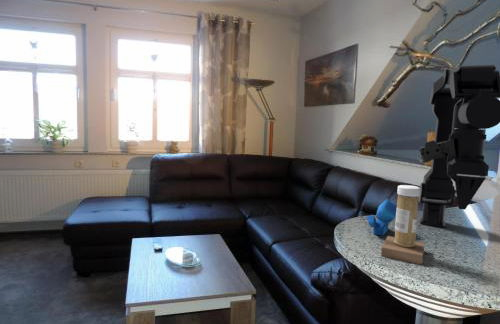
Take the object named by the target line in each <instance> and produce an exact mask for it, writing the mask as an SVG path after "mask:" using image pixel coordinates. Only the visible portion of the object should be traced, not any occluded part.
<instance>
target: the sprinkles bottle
mask: <svg viewBox="0 0 500 324" xmlns="http://www.w3.org/2000/svg"><path fill="white" fill-rule="evenodd" d="M396 194H397V200H396V201H397V205H396V206H397V209H396V216H395V223H394V225H395V226H394V228H395V230H394V237H395V239H394V243H395V244H397V245H399V246H402V247H414V246H415V245H416V243H415V241H416V236H417V235H416V234H417V226H418V212H419V211H418V208H419V207H418V206H419V201H418V198H419V196H420V186H417V185H412V184H411V185H409V184H400V185H397V192H396Z"/></svg>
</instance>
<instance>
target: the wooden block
mask: <svg viewBox="0 0 500 324" xmlns="http://www.w3.org/2000/svg"><path fill="white" fill-rule="evenodd" d="M394 239H395V236H391V235H387V237H386V239H385V240H384V243H383V244H382V246H381V255H380V256H381V257H384V258H390V259H393V260H398V261H403V262H409V263H413V264H417V265H422V264H423V259H424V252H425V242H424V241H417V240H415V243H416V245H415V246H414V247H402V246H399V245H397V244H395V243H394Z"/></svg>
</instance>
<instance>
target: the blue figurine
mask: <svg viewBox="0 0 500 324" xmlns="http://www.w3.org/2000/svg"><path fill="white" fill-rule="evenodd" d="M396 209H397V205H396V204H394V203H393V202H392V201H391V200H390V199H389V198H386V199H385V200H384V201H383V202H382V203H381V204H380V205H378V207H377V211H376V215H374V214H370V215H368V216H366V217H365V218H366V220H367V223H368V225H369V227H370V228H372V229H373V230H372V233H373V235H375V234H376V235H375V236H380V235H381V237H382V236H384V235H385V234H386V233H387V232H388V231H389V224H390V223H391V222H392V221H394V219H396Z"/></svg>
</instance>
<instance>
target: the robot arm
mask: <svg viewBox="0 0 500 324" xmlns="http://www.w3.org/2000/svg"><path fill="white" fill-rule="evenodd" d="M447 85H449V86H447ZM429 96H430V97H429V104H430V106H431V111H432V113H433V115H434V117H435V118H436V120H435V121H436V122H435V130H434V139H433V140H430V141H426V142H425V143H424V144H425V145H424V146H421V147H419V149H418V150H419V153H420V156H421V159H422V162H423V164H424V163H429V162H431V165H430V169H429V170H428V171H427V172H426V173H425V174H424V176H423V181H422V182H420V186H419V188H420V196H419V198H418V204H422V214H421V216H422V217H420V219H419V224H421V225H426V226H433V227H441V228H446V220H445V215H446V214H445V212H446V206H447V207H452V206H454V202H455V197H456V200H457V206H458V209H460V210H466V209H467V207H468V206H469V205H470V202H471V201H472V200H473V198H474V197H475V195H476V194H477V192H478V191H479V190H480V187H481V186H482V184H483V183H484V182H485V180H486V179H487V177H488V176H489V168H490V166H489V165H488V164H487V163H486V162H485V155H484V150H485V141H487V134H486V133H487V132H486V130H487V129H491V128H494V127H496V126H498V125H499V124H500V100H499V99H500V71H499V70H498V69H497V67H496V65H495V64H469V65H467V64H465V65H457V66H455V67H448V68H446V69H444V70H443V74H442V76H441V77H439V78H438V79H437V80H436V81H435V82H434V83H433V84H432V87H431V91H430V95H429Z"/></svg>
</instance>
